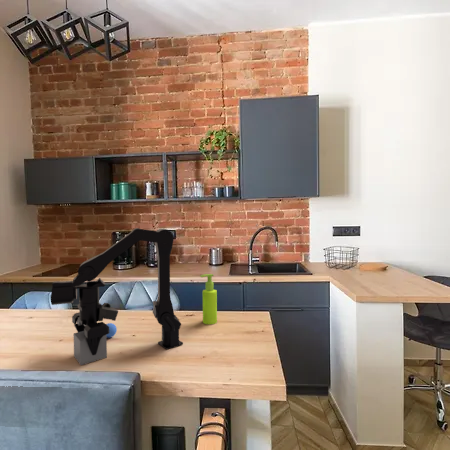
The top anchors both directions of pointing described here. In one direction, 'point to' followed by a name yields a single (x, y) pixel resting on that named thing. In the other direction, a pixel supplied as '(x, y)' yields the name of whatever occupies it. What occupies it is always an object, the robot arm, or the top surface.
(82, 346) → the gray rectangular platform
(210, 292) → the soap dispenser
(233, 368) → the top surface
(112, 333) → the ball
